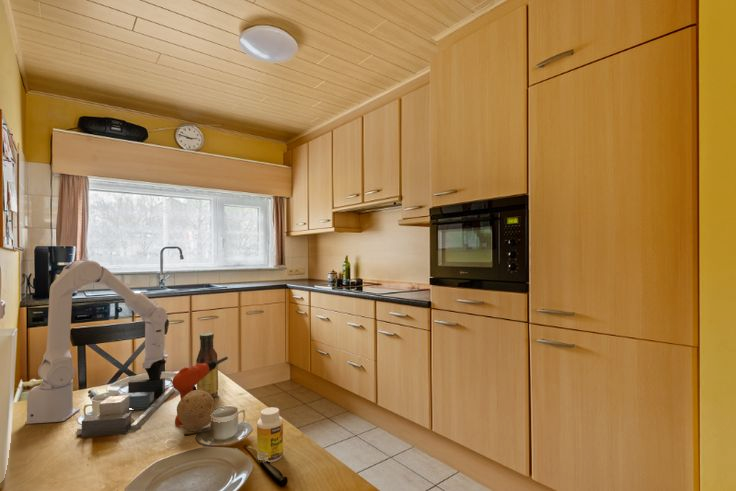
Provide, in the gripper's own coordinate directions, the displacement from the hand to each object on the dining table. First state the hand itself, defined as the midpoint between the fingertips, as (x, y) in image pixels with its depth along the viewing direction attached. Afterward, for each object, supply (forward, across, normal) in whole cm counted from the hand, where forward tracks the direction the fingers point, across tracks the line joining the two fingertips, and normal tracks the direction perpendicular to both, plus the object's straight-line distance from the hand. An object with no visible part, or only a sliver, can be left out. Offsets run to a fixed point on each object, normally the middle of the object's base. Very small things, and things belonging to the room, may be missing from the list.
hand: (155, 383), depth 128 cm
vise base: (+2, -18, 0) cm, 18 cm away
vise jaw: (+2, -11, 0) cm, 12 cm away
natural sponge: (+2, -33, -22) cm, 40 cm away
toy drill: (+2, -23, -21) cm, 31 cm away
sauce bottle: (+2, -10, -19) cm, 22 cm away
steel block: (+2, -27, 0) cm, 27 cm away
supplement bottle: (+2, -50, -42) cm, 65 cm away
